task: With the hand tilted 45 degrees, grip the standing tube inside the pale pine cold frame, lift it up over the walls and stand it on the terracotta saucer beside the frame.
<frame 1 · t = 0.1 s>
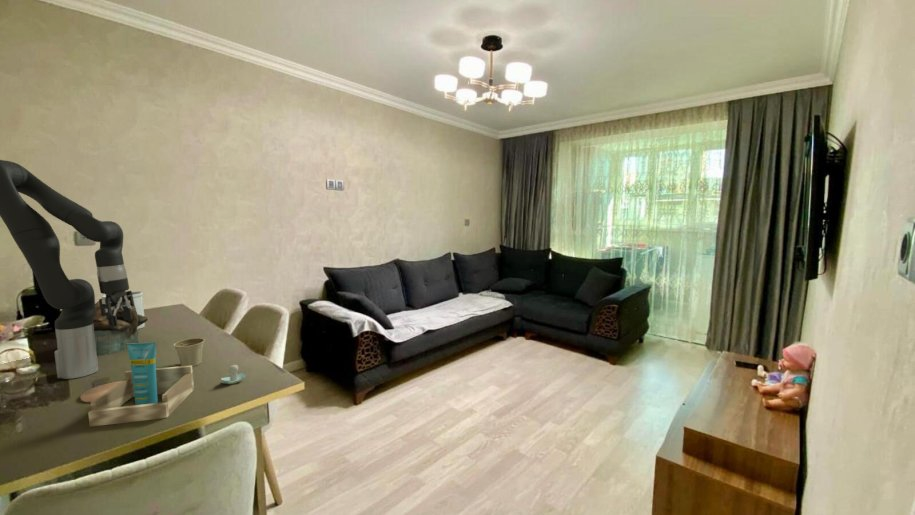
hand: (121, 323, 132), 17 cm above the table, tool pointing down, fingers open, 8 cm apart
brown and grey lump: (111, 348, 156), on the table
cold frame: (147, 406, 108), on the table
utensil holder: (126, 329, 182), on the table
pacifier: (233, 382, 125), on the table
flower pot: (191, 364, 139), on the table
saucer: (110, 392, 117), on the table
tube: (147, 406, 108), resting in cold frame
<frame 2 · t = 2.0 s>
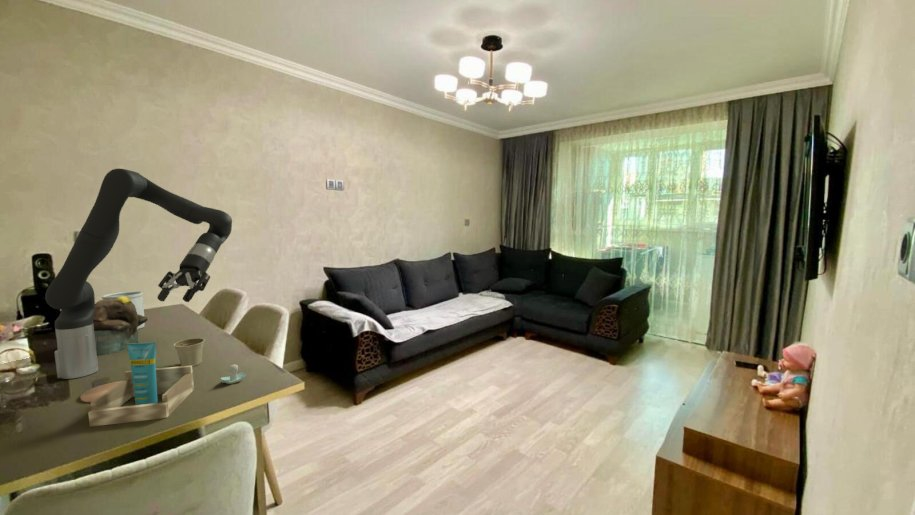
hand: (172, 300, 116), 29 cm above the table, tool tilted 45°, fingers open, 8 cm apart
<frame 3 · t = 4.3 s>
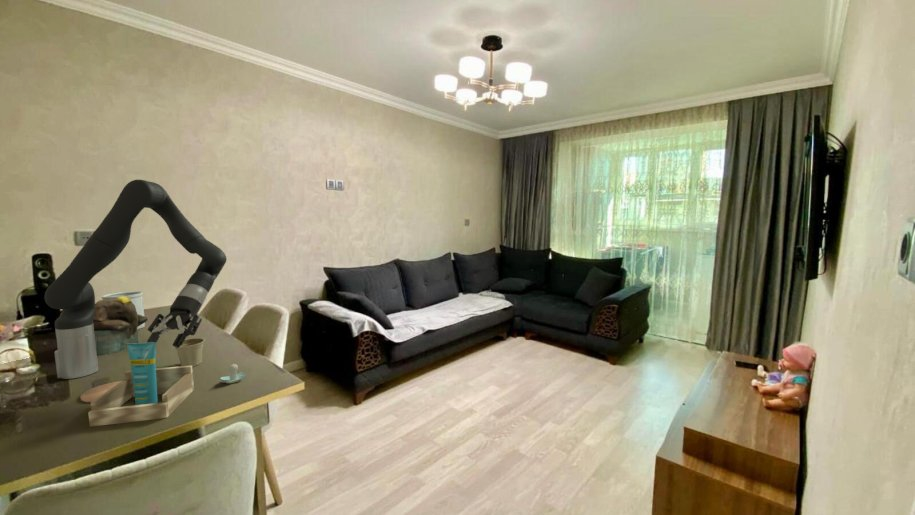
hand: (162, 346, 113), 16 cm above the table, tool tilted 45°, fingers open, 8 cm apart
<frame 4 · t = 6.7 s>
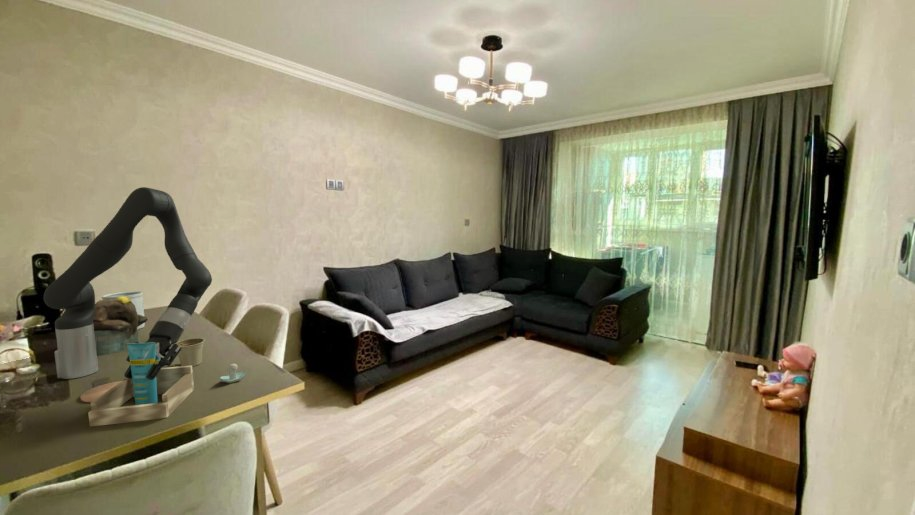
hand: (138, 378, 105), 9 cm above the table, tool tilted 45°, fingers closed on tube, 6 cm apart
tube: (147, 406, 108), resting in cold frame, touching gripper
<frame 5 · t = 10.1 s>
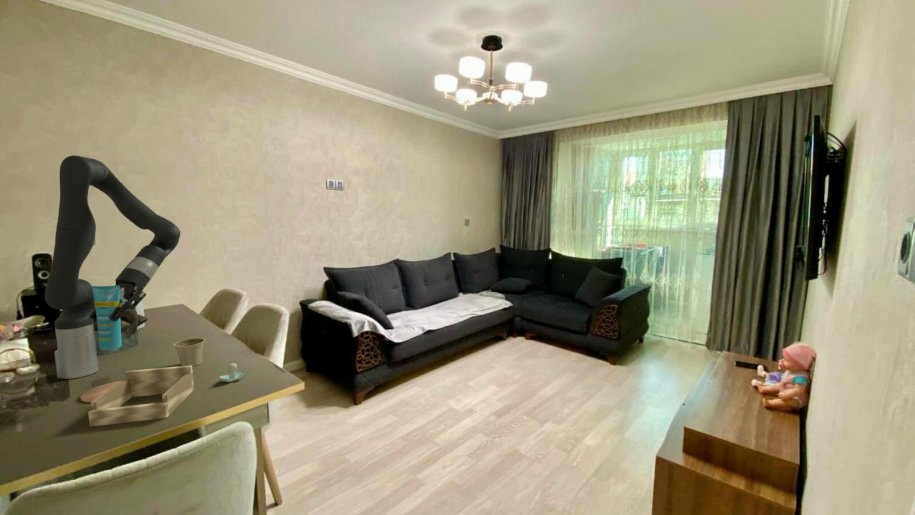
hand: (102, 319, 110), 25 cm above the table, tool tilted 45°, fingers closed on tube, 6 cm apart
tube: (111, 348, 113), point 15 cm above the table, touching gripper
when the fingers open (11 cm above the table, at t = 13.8 s): tube drops 1 cm, resting on saucer.
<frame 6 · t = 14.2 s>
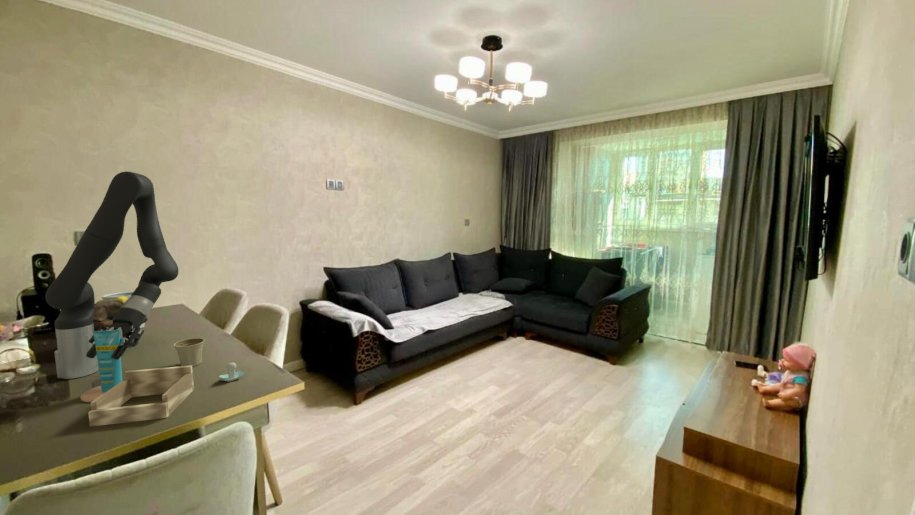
hand: (101, 358, 114), 12 cm above the table, tool tilted 45°, fingers open, 8 cm apart
tube: (112, 390, 117), point 1 cm above the table, touching saucer
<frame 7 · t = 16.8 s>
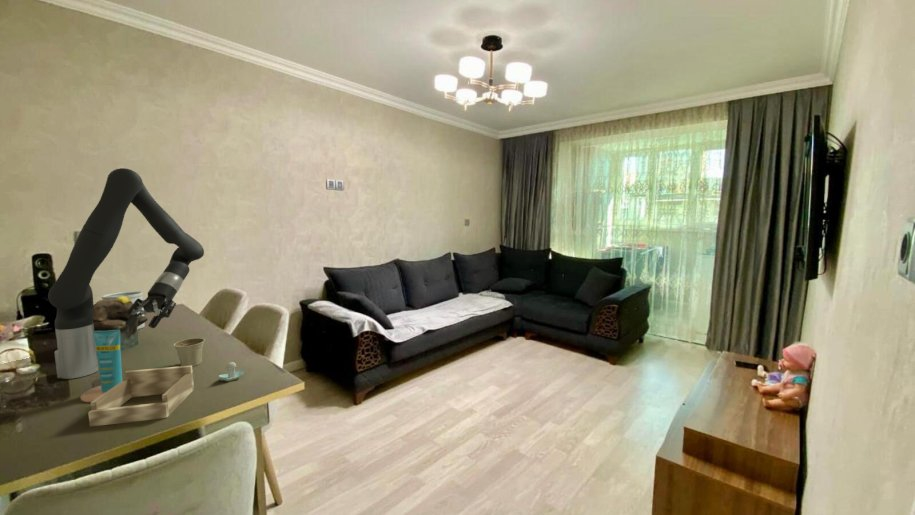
hand: (139, 326, 126), 18 cm above the table, tool tilted 45°, fingers open, 8 cm apart
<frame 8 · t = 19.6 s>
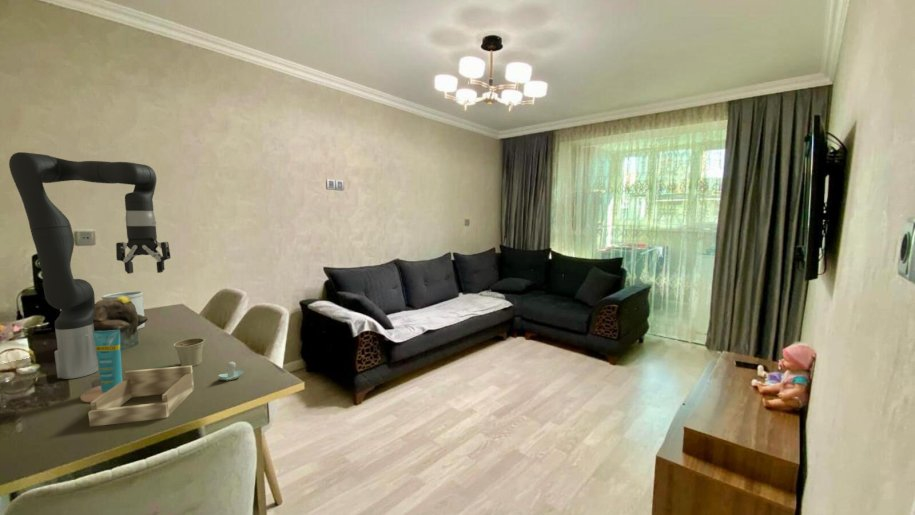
hand: (145, 272, 125), 36 cm above the table, tool pointing down, fingers open, 8 cm apart
at the end: tube inside the target area on the saucer (0.7 cm from its centre), point 0.6 cm above the saucer's base; tube tilted 0°; the gripper is holding nothing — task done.
